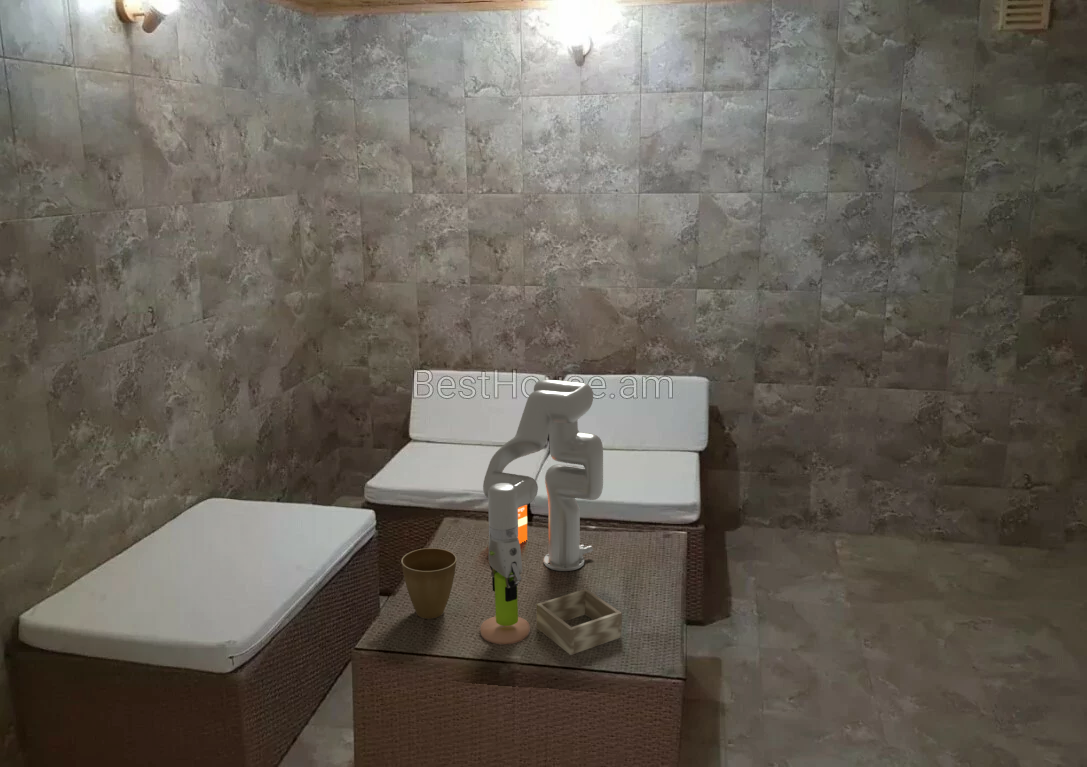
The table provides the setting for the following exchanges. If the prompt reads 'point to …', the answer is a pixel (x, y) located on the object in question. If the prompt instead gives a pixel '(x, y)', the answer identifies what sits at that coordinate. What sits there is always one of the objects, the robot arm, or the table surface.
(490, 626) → the peach oval pebble
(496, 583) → the soap dispenser
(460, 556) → the table surface
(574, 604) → the open wooden box
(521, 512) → the orange juice
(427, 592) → the plant pot
